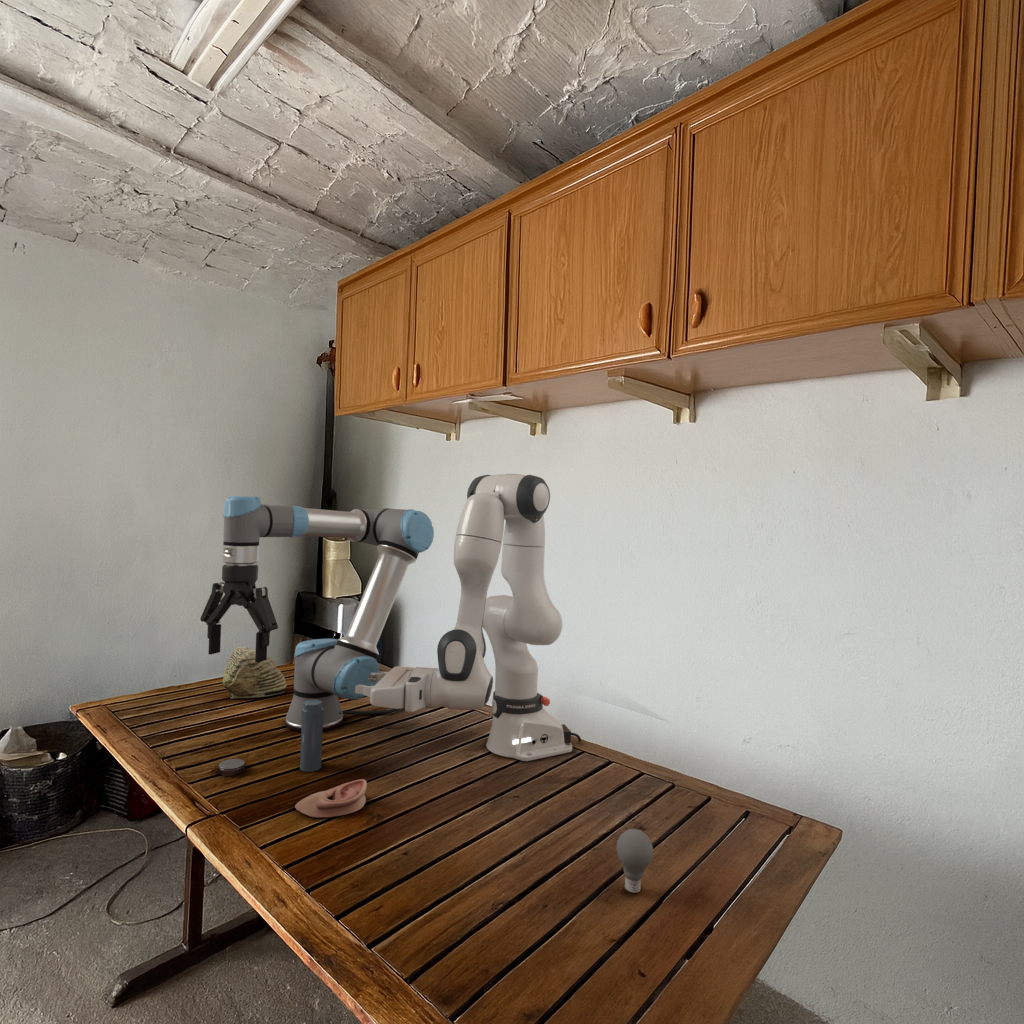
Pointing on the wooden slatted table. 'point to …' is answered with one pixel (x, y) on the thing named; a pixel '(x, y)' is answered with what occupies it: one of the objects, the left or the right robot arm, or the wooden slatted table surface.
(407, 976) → the wooden slatted table surface
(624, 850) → the light bulb
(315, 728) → the jar
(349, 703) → the wooden slatted table surface
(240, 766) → the lid
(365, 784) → the anatomical model
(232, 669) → the fossil
